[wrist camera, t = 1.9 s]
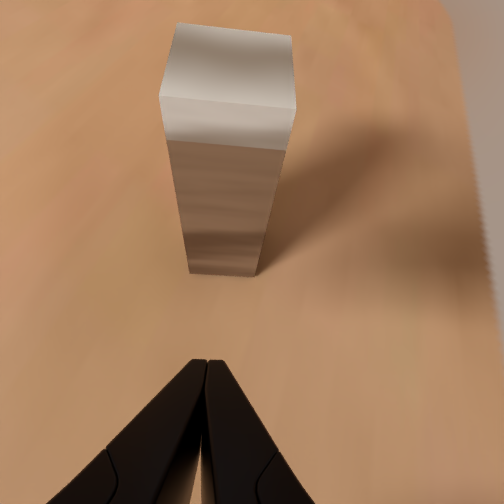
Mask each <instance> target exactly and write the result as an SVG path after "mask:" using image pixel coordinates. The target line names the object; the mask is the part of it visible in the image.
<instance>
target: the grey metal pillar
mask: <svg viewBox="0 0 504 504" xmlns="http://www.w3.org/2000/svg"><path fill="white" fill-rule="evenodd" d="M159 100H160V106H161V112H162V118H163V123H164V129H165V135H166V140H167V146H168V152H169V158H170V163H171V169H172V175H173V181H174V186H175V192H176V198H177V204H178V209H179V215H180V221H181V227H182V232H183V238H184V244H185V249H186V255H187V261H188V267H189V272H190V273H191V274H208V275H225V276H243V277H255V273H256V269H257V265H258V261H259V257H260V253H261V249H262V245H263V241H264V237H265V233H266V229H267V225H268V221H269V217H270V213H271V209H272V205H273V201H274V197H275V193H276V189H277V185H278V181H279V177H280V173H281V169H282V165H283V161H284V157H285V153H286V149H287V145H288V141H289V137H290V133H291V129H292V125H293V121H294V117H295V113H296V96H295V83H294V69H293V56H292V43H291V36H289V35H280V34H272V33H263V32H255V31H246V30H238V29H229V28H221V27H212V26H204V25H195V24H186V23H178V22H177V26H176V30H175V33H174V37H173V41H172V45H171V49H170V53H169V57H168V61H167V65H166V69H165V73H164V76H163V80H162V84H161V88H160V92H159Z"/></svg>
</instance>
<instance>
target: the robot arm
mask: <svg viewBox="0 0 504 504" xmlns="http://www.w3.org/2000/svg"><path fill="white" fill-rule="evenodd" d="M200 449H201V502H202V504H315V503H314V501H313V500H312V499H311V497H310V496H309V495H308V493H307V492H306V491H305V489H304V488H303V487H302V485H301V484H300V482H299V480H298V479H297V477H296V476H295V474H294V473H293V471H292V470H291V468H290V467H289V465H288V464H287V462H286V460H285V459H284V457H283V455H282V454H281V452H279V449H278V448H277V446H276V444H275V443H274V441H273V439H272V438H271V436H270V435H269V433H268V431H267V430H266V428H265V426H264V425H263V423H262V421H261V420H260V418H259V417H258V415H257V413H256V412H255V410H254V408H253V407H252V405H251V404H250V402H249V400H248V399H247V397H246V395H245V394H244V392H243V391H242V389H241V387H240V386H239V384H238V382H237V381H236V379H235V378H234V376H233V374H232V373H231V371H230V369H229V368H228V366H227V365H226V363H225V361H223V360H209V361H208V362H207V360H205V359H192V360H190V361H189V362H188V363H187V364H186V365H185V367H184V368H183V369H182V370H181V371H180V372H179V373H178V374H177V375H176V376H175V377H174V378H173V379H172V380H171V381H170V382H169V383H168V384H167V385H166V386H165V387H164V388H163V389H162V390H161V391H160V392H159V393H158V394H157V395H156V396H155V397H154V398H153V399H152V400H151V401H150V402H149V403H148V404H147V405H146V406H145V407H144V408H143V409H142V410H141V411H140V412H139V413H138V414H137V415H136V416H135V417H134V419H133V420H132V421H131V422H130V423H129V424H128V425H127V426H126V427H125V428H124V429H123V430H122V431H121V432H120V433H119V434H118V435H117V436H116V437H115V438H114V439H113V440H112V441H111V442H110V443H109V444H108V445H107V446H106V449H103V450H102V451H101V452H100V453H99V454H98V455H97V456H96V457H95V458H94V459H93V460H92V461H91V462H90V463H89V464H88V465H87V466H86V467H85V468H84V469H83V470H82V471H81V472H80V473H79V474H78V475H77V476H76V477H75V478H74V479H73V480H72V481H71V482H70V483H69V484H68V485H66V486H65V487H64V488H63V489H62V490H61V491H60V492H59V493H57V494H56V495H55V496H54V497H53V498H52V499H51V500H50V501H48V502H47V503H46V504H189V503H190V499H191V494H192V489H193V485H194V480H195V475H196V471H197V466H198V461H199V456H200Z"/></svg>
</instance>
